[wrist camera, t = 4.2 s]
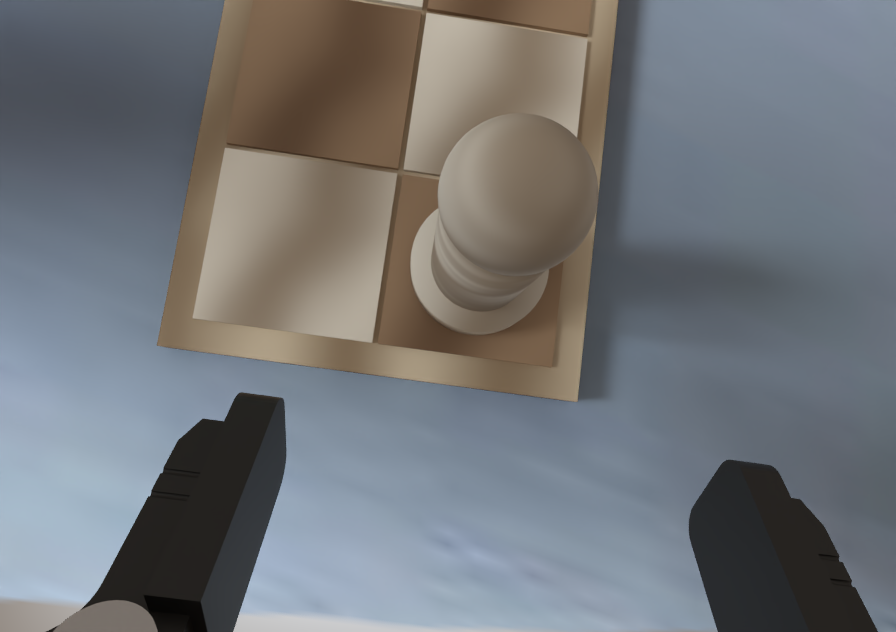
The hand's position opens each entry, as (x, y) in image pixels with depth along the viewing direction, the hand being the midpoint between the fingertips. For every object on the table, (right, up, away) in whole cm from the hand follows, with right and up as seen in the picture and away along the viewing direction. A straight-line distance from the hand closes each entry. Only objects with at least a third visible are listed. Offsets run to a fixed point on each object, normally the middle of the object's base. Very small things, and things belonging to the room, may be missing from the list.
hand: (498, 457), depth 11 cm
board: (-2, +14, +13) cm, 19 cm away
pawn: (0, +4, +11) cm, 12 cm away
